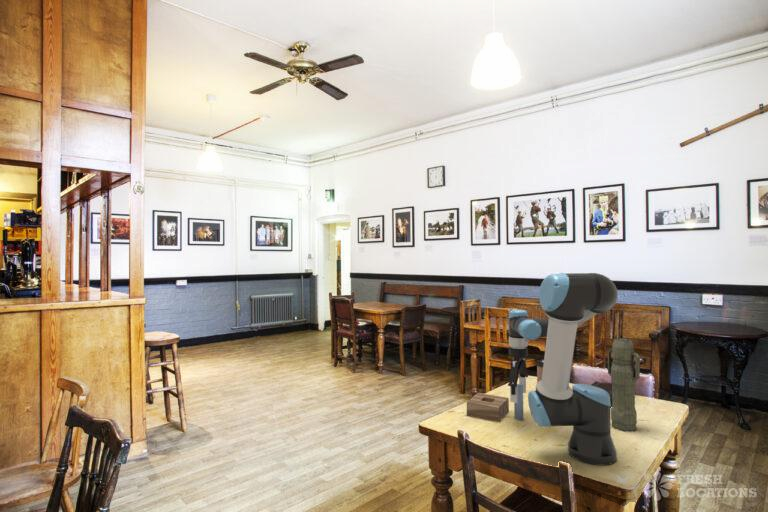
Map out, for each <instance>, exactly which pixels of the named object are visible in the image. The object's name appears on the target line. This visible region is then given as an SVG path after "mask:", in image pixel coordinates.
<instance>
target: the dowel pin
mask: <svg viewBox="0 0 768 512" xmlns="http://www.w3.org/2000/svg"><path fill="white" fill-rule="evenodd" d="M517 386H518V402H517V403H515V402H513V405H514V407H513V408H514V413H513V414H514V415H513V416H514V420H515V421H524V393H523V385H521V384H519V383H517Z"/></svg>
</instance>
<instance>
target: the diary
mask: <svg viewBox="0 0 768 512" xmlns="http://www.w3.org/2000/svg"><path fill="white" fill-rule="evenodd" d="M590 385H591V386H595V387H598V388H601V389H603V390H605V391H606V392H608V394H609V395H610V403H611V406H610V409H611V407H612V383H611V382H606V381H597V380H595V381H594V382H593V383H591V384H590Z"/></svg>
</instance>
